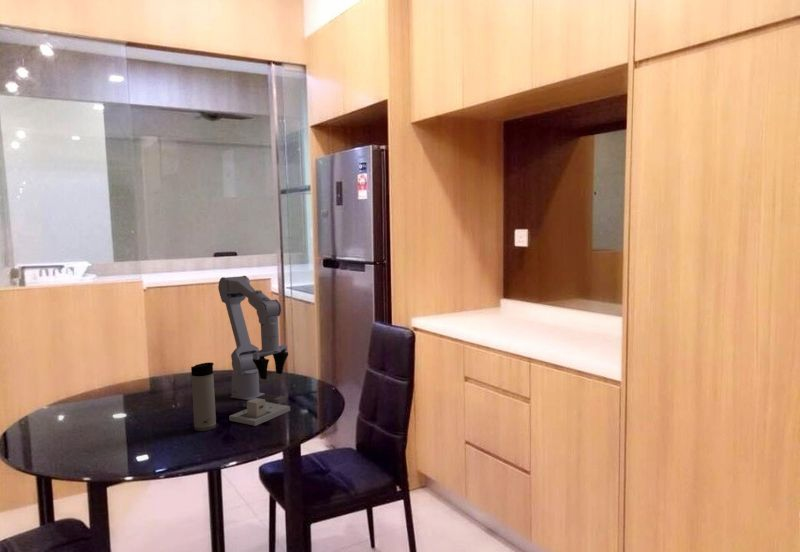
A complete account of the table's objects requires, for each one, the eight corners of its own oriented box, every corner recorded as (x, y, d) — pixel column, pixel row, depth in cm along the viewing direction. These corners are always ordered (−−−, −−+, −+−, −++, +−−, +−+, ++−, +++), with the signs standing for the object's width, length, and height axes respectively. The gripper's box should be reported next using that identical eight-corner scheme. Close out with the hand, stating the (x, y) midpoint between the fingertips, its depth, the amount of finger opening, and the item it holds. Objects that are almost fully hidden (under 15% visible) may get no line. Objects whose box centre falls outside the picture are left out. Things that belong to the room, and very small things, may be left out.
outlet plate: (229, 420, 175) (229, 415, 175) (265, 406, 189) (265, 401, 189) (255, 425, 170) (255, 420, 169) (290, 410, 183) (290, 405, 183)
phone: (243, 407, 189) (242, 403, 189) (268, 397, 199) (267, 394, 199) (255, 409, 186) (254, 406, 186) (279, 399, 196) (279, 396, 196)
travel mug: (210, 432, 165) (206, 365, 164) (190, 431, 167) (186, 365, 165) (221, 424, 171) (217, 360, 170) (201, 423, 173) (198, 360, 171)
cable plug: (265, 412, 185) (265, 405, 185) (260, 411, 186) (259, 404, 186) (286, 403, 194) (286, 396, 194) (281, 402, 195) (281, 395, 195)
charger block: (247, 420, 175) (246, 401, 175) (256, 416, 179) (256, 398, 178) (257, 422, 173) (256, 403, 173) (266, 418, 177) (265, 399, 176)
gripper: (263, 341, 178) (265, 382, 179) (293, 333, 191) (295, 372, 192) (247, 339, 182) (249, 380, 183) (277, 332, 194) (279, 370, 196)
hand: (271, 376), depth 188 cm, fingers open, 7 cm apart
